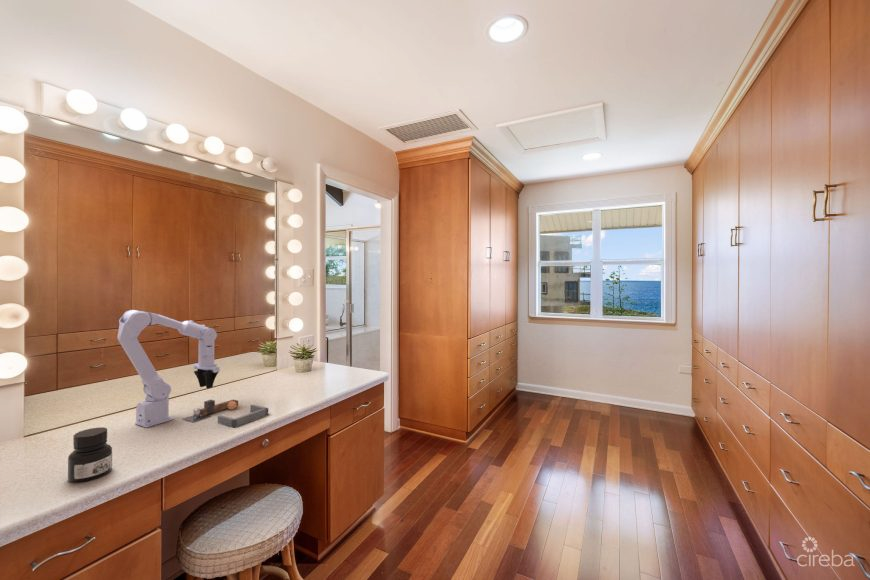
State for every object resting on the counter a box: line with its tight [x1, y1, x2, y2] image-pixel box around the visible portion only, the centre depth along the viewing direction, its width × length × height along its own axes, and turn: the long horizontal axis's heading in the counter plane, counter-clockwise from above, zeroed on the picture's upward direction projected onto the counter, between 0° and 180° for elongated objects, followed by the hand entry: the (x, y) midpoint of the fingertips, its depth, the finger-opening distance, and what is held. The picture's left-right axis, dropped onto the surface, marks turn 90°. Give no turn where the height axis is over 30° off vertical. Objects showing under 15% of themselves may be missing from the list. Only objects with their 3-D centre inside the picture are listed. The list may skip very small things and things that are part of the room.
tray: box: [217, 404, 269, 429], centre depth 142 cm, size 15×9×3 cm, turn 155°
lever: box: [200, 399, 239, 415], centre depth 150 cm, size 14×4×5 cm, turn 155°
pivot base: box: [181, 407, 212, 423], centre depth 142 cm, size 7×7×4 cm
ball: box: [227, 401, 238, 411], centre depth 153 cm, size 4×4×4 cm
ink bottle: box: [67, 426, 113, 483], centre depth 100 cm, size 10×9×12 cm
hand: (206, 387), depth 152 cm, fingers open, 4 cm apart
